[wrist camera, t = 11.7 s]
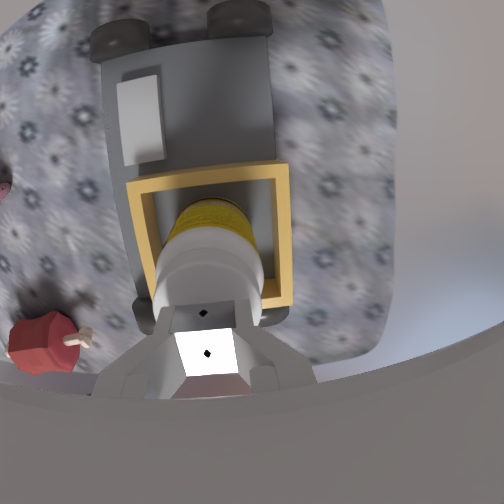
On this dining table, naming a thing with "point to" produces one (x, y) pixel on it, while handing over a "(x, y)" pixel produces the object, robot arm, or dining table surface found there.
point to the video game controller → (4, 190)
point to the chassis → (195, 141)
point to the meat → (47, 343)
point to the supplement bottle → (209, 258)
